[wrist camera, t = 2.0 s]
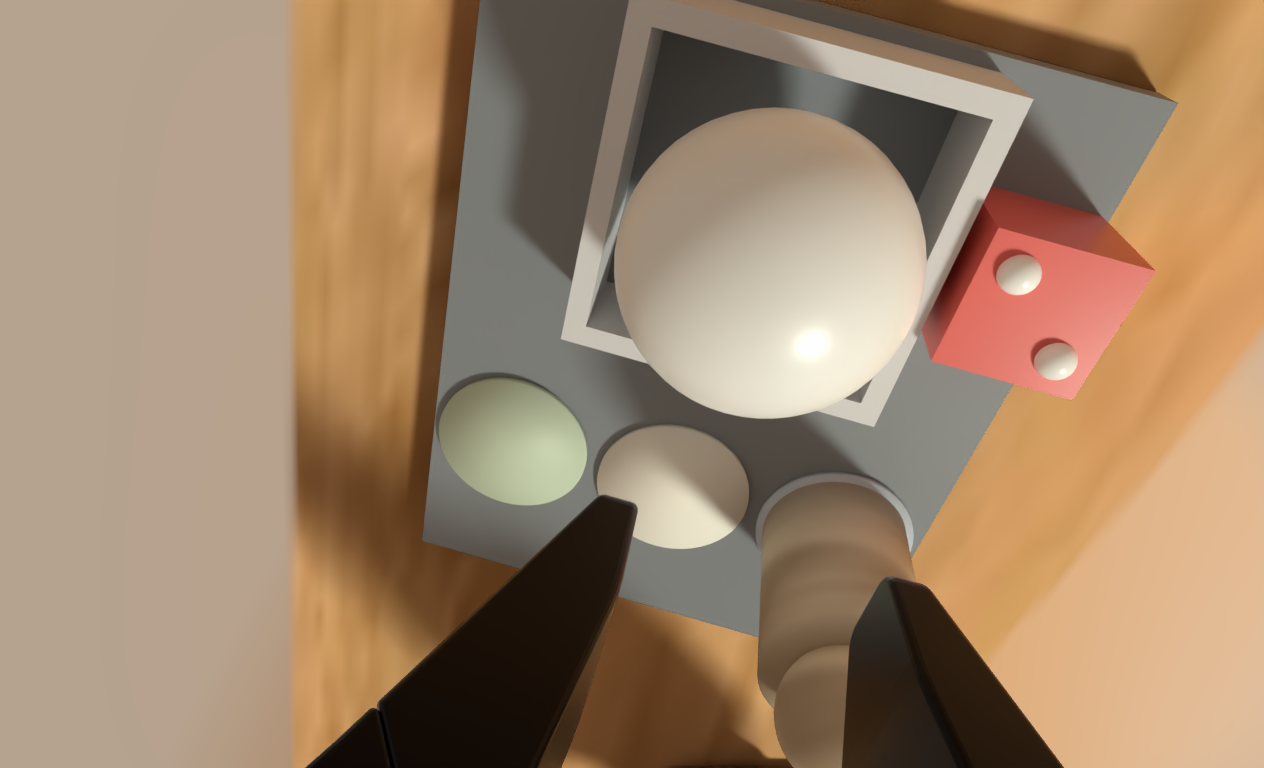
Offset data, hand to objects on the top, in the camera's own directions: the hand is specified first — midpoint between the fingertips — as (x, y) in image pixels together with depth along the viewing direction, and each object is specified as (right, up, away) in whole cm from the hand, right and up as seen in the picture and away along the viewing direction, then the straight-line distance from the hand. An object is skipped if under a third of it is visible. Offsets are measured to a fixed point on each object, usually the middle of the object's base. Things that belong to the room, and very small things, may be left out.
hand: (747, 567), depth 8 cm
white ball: (+2, +5, +9) cm, 11 cm away
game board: (+1, +3, +14) cm, 14 cm away
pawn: (+5, -3, +15) cm, 16 cm away
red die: (+7, +5, +11) cm, 14 cm away
